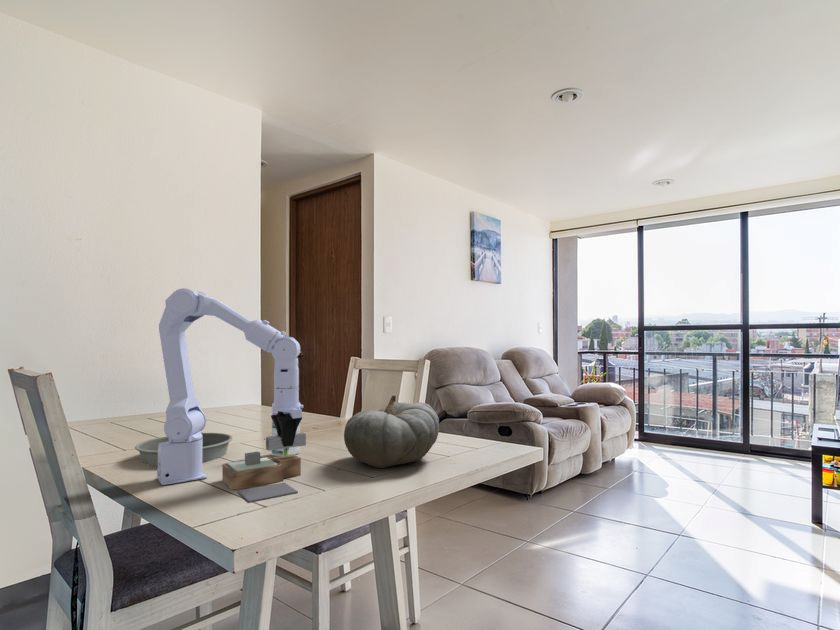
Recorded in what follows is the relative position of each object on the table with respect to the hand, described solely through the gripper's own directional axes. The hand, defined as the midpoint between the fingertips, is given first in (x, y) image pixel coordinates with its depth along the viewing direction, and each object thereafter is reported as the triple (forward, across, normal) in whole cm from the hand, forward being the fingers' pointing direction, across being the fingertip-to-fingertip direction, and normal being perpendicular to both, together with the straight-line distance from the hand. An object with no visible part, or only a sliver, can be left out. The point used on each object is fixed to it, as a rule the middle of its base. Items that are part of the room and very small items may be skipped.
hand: (286, 445), depth 118 cm
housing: (+7, 0, +5) cm, 9 cm away
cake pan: (+8, +36, +16) cm, 40 cm away
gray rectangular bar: (0, 0, 0) cm, 0 cm away
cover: (+4, 0, +8) cm, 9 cm away
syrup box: (+7, +20, -7) cm, 22 cm away
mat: (+7, -11, +8) cm, 15 cm away
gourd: (+7, -5, -26) cm, 28 cm away
